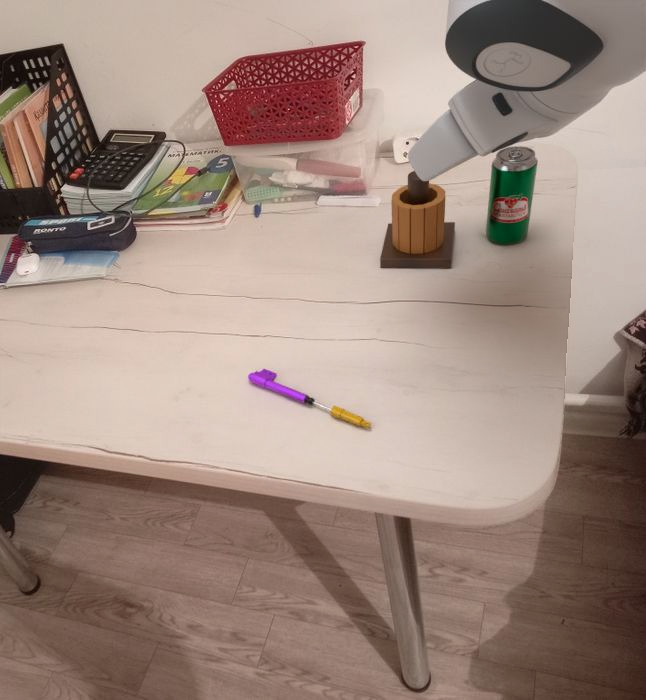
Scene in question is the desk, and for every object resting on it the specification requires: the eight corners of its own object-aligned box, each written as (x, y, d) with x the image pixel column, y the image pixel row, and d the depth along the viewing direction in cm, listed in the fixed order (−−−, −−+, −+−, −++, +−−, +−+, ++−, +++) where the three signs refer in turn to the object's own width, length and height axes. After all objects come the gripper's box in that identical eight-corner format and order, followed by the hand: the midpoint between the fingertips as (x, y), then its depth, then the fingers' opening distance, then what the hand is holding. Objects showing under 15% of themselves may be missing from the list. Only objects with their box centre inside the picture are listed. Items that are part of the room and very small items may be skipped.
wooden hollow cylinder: (426, 258, 83) (427, 213, 78) (383, 246, 87) (381, 202, 82) (453, 233, 85) (455, 188, 81) (409, 223, 89) (409, 179, 85)
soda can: (484, 246, 84) (492, 165, 76) (486, 226, 87) (493, 146, 79) (527, 246, 82) (539, 163, 74) (527, 225, 85) (538, 143, 77)
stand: (454, 230, 88) (458, 155, 81) (450, 268, 82) (454, 191, 75) (388, 231, 92) (386, 160, 84) (380, 268, 86) (377, 194, 79)
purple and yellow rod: (246, 382, 75) (366, 432, 66) (246, 373, 75) (367, 424, 65) (259, 372, 77) (378, 420, 67) (259, 364, 76) (379, 411, 67)
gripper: (603, 20, 61) (512, 98, 75) (441, 100, 57) (375, 167, 71) (638, 73, 61) (539, 142, 74) (476, 157, 57) (403, 214, 70)
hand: (458, 154), depth 72 cm, fingers open, 8 cm apart
